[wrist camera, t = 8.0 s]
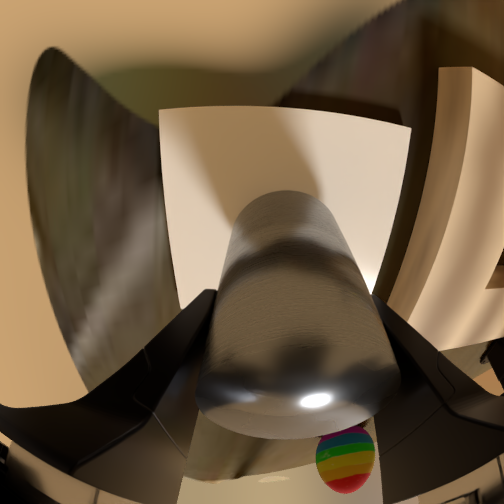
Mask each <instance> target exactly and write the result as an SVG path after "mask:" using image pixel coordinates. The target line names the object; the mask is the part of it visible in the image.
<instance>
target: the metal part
mask: <svg viewBox="0 0 504 504" xmlns="http://www.w3.org/2000/svg"><path fill="white" fill-rule="evenodd" d="M400 384H401V374H400V370H399V367H398V364H397V362H396V359H395V356H394V353H393V350H392V347H391V345H390V342H389V339H388V337H387V334H386V331H385V329H384V326H383V323H382V321H381V318H380V316H379V313H378V311H377V308H376V306H375V304H374V301H373V299H372V296H371V294H370V292H369V289H368V287H367V285H366V283H365V280H364V278H363V276H362V274H361V271H360V269H359V267H358V265H357V263H356V261H355V258H354V256H353V254H352V252H351V250H350V248H349V246H348V244H347V242H346V240H345V238H344V236H343V234H342V232H341V230H340V228H339V226H338V224H337V222H336V220H335V218H334V216H333V214H332V213H331V211H330V210H329V209H328V208H327V207H326V205H325V204H323V203H322V202H321V201H320V200H318V199H317V198H315V197H313V196H311V195H309V194H306V193H303V192H299V191H292V190H281V191H274V192H270V193H267V194H264V195H262V196H260V197H258V198H256V199H254V200H253V201H251V202H250V203H249V204H248V205H247V206H246V207H245V208H244V209H243V210H242V211H241V212H240V214H239V215H238V217H237V218H236V220H235V223H234V225H233V228H232V232H231V236H230V240H229V244H228V249H227V253H226V257H225V261H224V265H223V269H222V273H221V278H220V282H219V286H218V290H217V295H216V299H215V303H214V308H213V312H212V316H211V321H210V325H209V330H208V334H207V339H206V343H205V348H204V352H203V357H202V362H201V366H200V371H199V376H198V381H197V386H196V391H195V401H196V404H197V406H198V408H199V409H200V411H201V412H202V413H203V414H204V415H205V416H206V417H207V418H209V419H210V420H211V421H213V422H214V423H216V424H218V425H220V426H222V427H224V428H226V429H229V430H231V431H234V432H237V433H241V434H244V435H249V436H254V437H260V438H269V439H301V438H310V437H316V436H322V435H326V434H330V433H334V432H338V431H341V430H344V429H347V428H349V427H352V426H354V425H357V424H359V423H361V422H363V421H365V420H367V419H368V418H370V417H372V416H373V415H375V414H376V413H378V412H379V411H380V410H382V409H383V408H384V407H385V406H386V405H387V404H388V403H389V402H390V401H391V400H392V399H393V398H394V396H395V395H396V393H397V391H398V390H399V387H400Z"/></svg>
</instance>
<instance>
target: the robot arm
mask: <svg viewBox="0 0 504 504" xmlns="http://www.w3.org/2000/svg"><path fill="white" fill-rule="evenodd" d="M216 295H217V290H216V289H204V290H203V291H202V292H201V293H200V294H199V295H198V296H197V297H196V298H195V299H194V300H193V301H192V302H191V303H189V304H188V305H187V306H186V307H185V308H184V309H183V310H182V311H181V312H180V313H179V314H178V315H177V316H176V317H175V318H174V319H173V320H172V321H171V322H170V323H169V324H168V325H167V326H165V327H164V328H163V329H162V330H161V331H160V332H159V333H158V334H157V335H156V336H155V337H154V338H153V339H152V340H151V341H150V342H149V343H148V344H147V345H146V346H145V347H144V349H141V350H140V351H139V352H138V353H137V354H136V355H135V356H134V357H133V358H132V359H131V360H130V361H129V362H128V363H126V364H125V365H124V366H123V367H122V368H120V369H119V370H118V371H117V372H115V373H114V374H113V375H112V376H110V377H109V378H108V379H106V380H105V381H104V382H103V383H101V384H100V385H99V386H97V387H96V388H95V389H93V390H92V391H91V392H89V393H88V394H87V395H85V396H84V397H82V398H80V399H78V400H76V401H73V402H70V403H65V404H57V405H49V406H39V407H28V408H11V407H7V406H4V405H2V404H0V432H1V433H3V434H4V435H5V436H7V437H8V438H9V439H11V440H12V442H11V445H10V448H9V447H8V446H6V445H5V444H3V443H2V442H1V441H0V504H176V503H177V499H178V495H179V491H180V486H181V482H182V478H183V474H184V470H185V465H186V461H187V460H186V459H187V457H188V453H189V449H190V444H191V440H192V436H193V432H194V428H195V424H196V420H197V416H198V412H199V408H198V406H197V404H196V401H195V391H196V386H197V381H198V376H199V371H200V366H201V362H202V357H203V352H204V348H205V343H206V339H207V334H208V330H209V325H210V321H211V316H212V312H213V308H214V303H215V299H216ZM371 296H372V299H373V301H374V304H375V306H376V308H377V311H378V313H379V316H380V318H381V321H382V323H383V326H384V329H385V331H386V334H387V337H388V339H389V342H390V345H391V347H392V350H393V353H394V356H395V359H396V362H397V364H398V367H399V370H400V374H401V384H400V387H399V390H398V391H397V393H396V395H395V396H394V398H393V399H392V400H391V401H390V402H389V403H388V404H387V405H386V406H385V407H384V408H383V409H382V410H380V411H379V412H378V413H376V414H375V415H373V416H374V423H375V429H376V436H377V443H378V451H379V456H380V457H379V460H380V470H381V481H382V494H383V504H394V503H398V502H401V501H404V500H407V499H410V498H413V497H416V496H418V499H419V504H504V393H503V394H501V395H500V396H496V395H493V394H490V393H489V392H487V391H486V390H485V389H483V388H482V387H481V386H480V385H478V384H477V383H476V382H475V381H473V380H472V379H471V378H470V377H469V376H467V375H466V374H465V373H464V372H462V371H461V370H460V369H459V368H458V367H456V366H455V365H454V364H453V363H452V362H451V361H450V360H448V359H447V358H446V357H445V356H444V355H443V354H442V353H441V352H440V351H438V350H437V349H436V348H435V347H434V346H433V345H432V344H431V343H430V342H429V341H428V340H427V339H425V338H424V337H423V336H422V335H421V334H420V333H419V332H418V331H416V330H415V329H414V328H413V327H412V326H411V325H410V324H409V323H407V322H406V321H405V320H404V319H403V318H402V317H401V316H399V315H398V314H397V313H396V312H395V311H394V310H392V309H391V308H390V307H389V306H388V305H387V304H385V303H384V302H383V301H382V300H381V299H380V298H378V297H377V296H376V295H371ZM488 362H490V364H491V366H492V368H493V370H494V372H495V375H496V377H497V379H498V381H500V383H501V385H502V388H503V389H504V337H501V338H497V339H496V340H495V342H494V343H493V344H492V346H491V347H490V348H489V350H488V351H487V352H486V354H485V355H484V356H483V358H482V359H481V360H480V363H481V364H485V363H488Z"/></svg>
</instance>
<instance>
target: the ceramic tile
mask: <svg viewBox="0 0 504 504" xmlns="http://www.w3.org/2000/svg"><path fill="white" fill-rule="evenodd" d="M159 130H160V149H161V164H162V176H163V187H164V198H165V207H166V216H167V224H168V232H169V240H170V247H171V254H172V260H173V267H174V273H175V279H176V285H177V291H178V296H179V302H180V307H181V309H184V308H185V307H186V306H187V305H188V304H189V303H191V302H192V301H193V300H194V299H195V298H196V297H197V296H198V295H199V294H200V293H201V292H202V291H203V290H204V289H216V290H218V286H219V282H220V278H221V273H222V269H223V265H224V261H225V257H226V253H227V249H228V244H229V240H230V236H231V232H232V228H233V225H234V223H235V220H236V218H237V217H238V215H239V214H240V212H241V211H242V210H243V209H244V208H245V207H246V206H247V205H248V204H249V203H250V202H251V201H253V200H254V199H256V198H258V197H260V196H262V195H264V194H267V193H270V192H274V191H281V190H292V191H299V192H303V193H306V194H309V195H311V196H313V197H315V198H317V199H318V200H320V201H321V202H322V203H323V204H325V205H326V207H327V208H328V209H329V210H330V211H331V213H332V214H333V216H334V218H335V220H336V222H337V224H338V226H339V228H340V230H341V232H342V234H343V236H344V238H345V240H346V242H347V244H348V246H349V248H350V250H351V252H352V254H353V256H354V258H355V261H356V263H357V265H358V267H359V269H360V271H361V274H362V276H363V278H364V280H365V283H366V285H367V287H368V289H369V292H370V294H372V291H373V288H374V285H375V282H376V279H377V276H378V273H379V270H380V267H381V264H382V261H383V257H384V254H385V251H386V247H387V244H388V240H389V237H390V233H391V229H392V225H393V222H394V218H395V214H396V209H397V205H398V201H399V196H400V192H401V187H402V182H403V177H404V172H405V166H406V160H407V154H408V148H409V141H410V134H411V128H409V127H405V126H401V125H397V124H393V123H388V122H384V121H379V120H374V119H369V118H364V117H359V116H353V115H347V114H340V113H333V112H326V111H318V110H309V109H299V108H286V107H270V106H199V107H185V108H184V107H182V108H170V109H161V110H159Z"/></svg>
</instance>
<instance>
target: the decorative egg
mask: <svg viewBox="0 0 504 504" xmlns="http://www.w3.org/2000/svg"><path fill="white" fill-rule="evenodd" d="M374 461H375V447H374V443H373V440H372V438H371V437H370V435H369V434H368V432H367V431H366V430H364V429H363V428H362V427H360V426H352V427H349V428H347V429H344V430H341V431H338V432H334V433H330V434H326V435H324V436H323V437H322V438H321V440H320V442H319V444H318V447H317V450H316V465H317V469H318V472H319V474H320V476H321V478H322V480H323V481H324V482H325V483H326V484H327V485H328V486H329V487H330V488H331V489H332V490H334V491H336V492H339V493H344V494H345V493H346V494H347V493H351V492H354V491H356V490H358V489H359V488H360V487H361V486H362V485H363V484H364V483H365V482H366V480H367V479H368V477H369V476H370V473H371V471H372V469H373V466H374Z"/></svg>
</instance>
